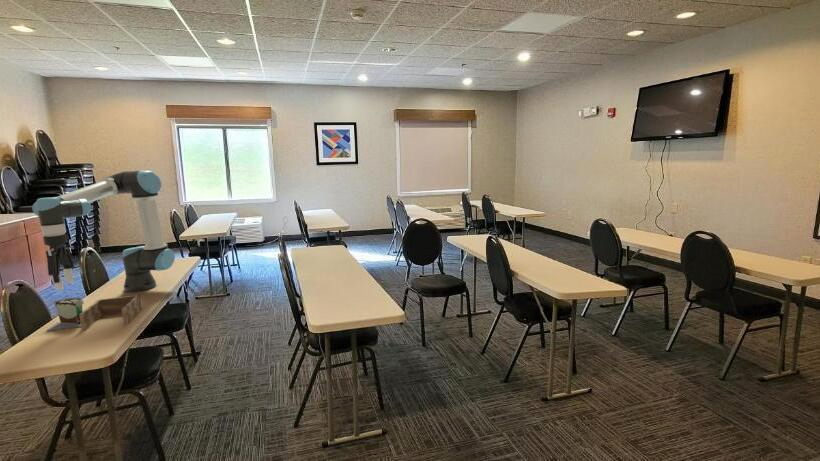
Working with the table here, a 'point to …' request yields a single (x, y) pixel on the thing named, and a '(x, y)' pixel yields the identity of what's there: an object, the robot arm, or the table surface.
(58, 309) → the food container
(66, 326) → the pad
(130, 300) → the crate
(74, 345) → the table surface
